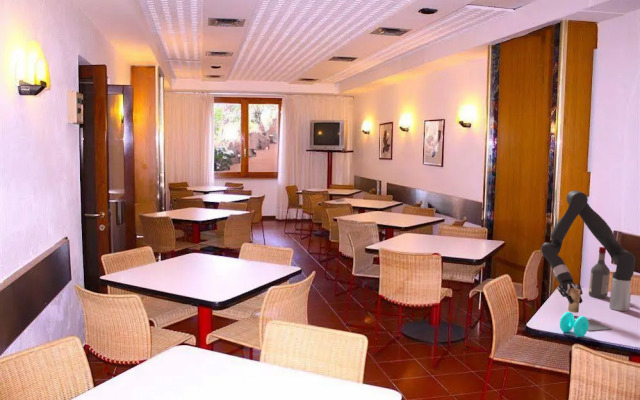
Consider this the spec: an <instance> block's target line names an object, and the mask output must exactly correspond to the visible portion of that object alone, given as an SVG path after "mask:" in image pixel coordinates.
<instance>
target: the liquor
mask: <svg viewBox="0 0 640 400" xmlns="http://www.w3.org/2000/svg"><path fill="white" fill-rule="evenodd" d="M598 248H599V250H598V258H597V259H598V260H597V263H596V264H594V265H593V266H592V267H591V269H590V277H589V286H588V296H590V297H591V298H595V299H596V298H597V299H605V298H607V297H608V292H609V285H610V275H611V270H610V268H609V267H608V266H607V265H606V261H605V260H606V252H607V250H606V249H605V247H604V246H599V247H598Z"/></svg>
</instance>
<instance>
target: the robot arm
mask: <svg viewBox="0 0 640 400" xmlns="http://www.w3.org/2000/svg"><path fill="white" fill-rule="evenodd" d="M566 202H567V203H568V207H567V209H566V211H565V213H564V214H563V216H562V217H561V218H560V219H559V220H558V221H557V223H556V224H555V226H554V228H553V229H552V231H551V233H550V238H551V242H544V243H543V244H542V245H541V248H540V249H541V253H542V255H543V256H544V258H545V259H546V260H547V262H548V263H549V265H550V267H551V270H552V272H553V274H554V277H555V278H556V281H557V282H558V286H557V287H556V290H557V291H558V292H559V294H560V295H561V297H563V298H566V299H567V301H568V304H569V303H570V304H572V303H574V301H573V299H572V297H571V296H570V288H577V289H580V300H579V304H582V303H583V298H582V295H583V293H584V292H583V290H582V285H581V284H579V283H578V284H576V282H574V278H573V276H572V274H571V272H570V270H569V268H568V267H567V265H566V263H565V262H564V259H563V258H562V257H561V256H559V254H560V252H561V249H562V246H563V241H564V239H565V238H566V235H567V233H568V232H569V230H570V228H571V226H572V225H573V223H574V222H575V219H577V217H578V216H579V217H580V218H581V220H582V221H583V223H584V224H585V226H586V227H587V228H588V230H589V231H590V232H591V234H592V236H594V238H595V240H597V241H598V242H599V243H600V244H601V245H602V247H605V249H606V252H607V253H608V254H609V256H610V258H611V260H612V261H613V262H614V264H616V269H615V271H614V272H612V278H611V287H610V288H611V289H610V296H609V297H610V298H609V305H608V306H609V309H612V310H615V311H619V312H628V311H629V310H630V307H631V296H632V293H631V287H632V286H631V284H632V277H633V276H634V272H635V265H636V257H635V255H634V254H633V253H631V252H629V251H628V250H626V249H625V248H623V246H622V245H621V244H620V243H619V241H617V239H616V237H615V234H614V232H613V230H612V228H611V227H610V225H609V224H608V223H607V222H606V221H605V219H603V218H602V216H600V215H599V214H598V212H596V211H595V210H594V209H593V207H591V206H590V204H589V203H588V196H587V194H586V193H584V192H582V191H580V190H571V191H569V192H568V193H567V194H566Z"/></svg>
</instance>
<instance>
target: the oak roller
mask: <svg viewBox="0 0 640 400" xmlns="http://www.w3.org/2000/svg"><path fill="white" fill-rule="evenodd" d="M570 296H571V297H572V299H573V301H574V303H572V304H570V303H569V302H568V309H567V312H571V313H572V314H576V313H577V314H578V313H579V309H580V303H579V300H580V296H581V295H580V289H577V288H570Z"/></svg>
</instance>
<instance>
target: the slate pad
mask: <svg viewBox="0 0 640 400" xmlns="http://www.w3.org/2000/svg"><path fill="white" fill-rule="evenodd" d="M587 319H588V318H587ZM575 321H576V319H575ZM588 323H589V326H588V330H587V332H595V331H599V332H600V331H612V330H613V328H612V327H609V326H608V325H606V324H603V323H601V322H600V321H599V322H598V321H596V320H594V319H592V318H591V319H588Z"/></svg>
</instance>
